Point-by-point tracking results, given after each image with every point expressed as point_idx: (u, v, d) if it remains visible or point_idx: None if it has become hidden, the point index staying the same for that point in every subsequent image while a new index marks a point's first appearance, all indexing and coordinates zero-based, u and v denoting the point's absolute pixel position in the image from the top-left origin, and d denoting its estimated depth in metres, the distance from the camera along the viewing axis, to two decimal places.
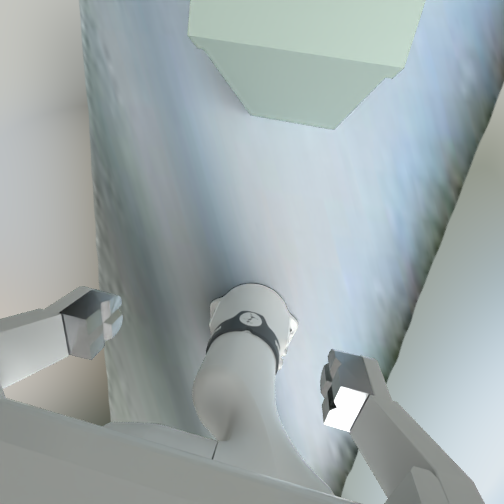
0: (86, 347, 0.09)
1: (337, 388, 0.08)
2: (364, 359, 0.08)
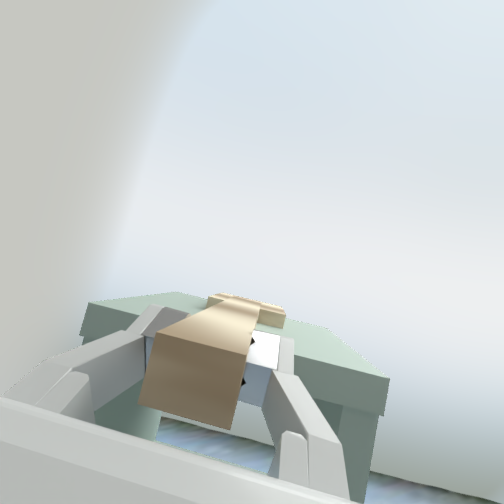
0: None
1: (245, 364, 0.08)
2: (281, 338, 0.09)
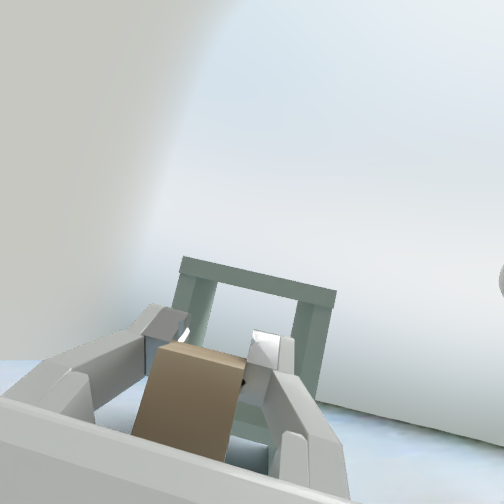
0: None
1: None
2: (281, 338, 0.09)
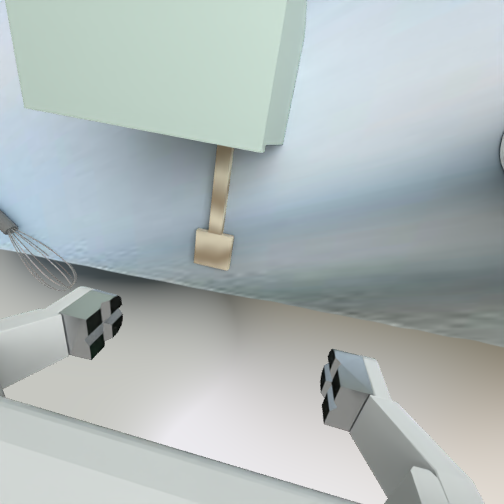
0: (86, 347, 0.09)
1: (337, 388, 0.08)
2: (364, 359, 0.08)
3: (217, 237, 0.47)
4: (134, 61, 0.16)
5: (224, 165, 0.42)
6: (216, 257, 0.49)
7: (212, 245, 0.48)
